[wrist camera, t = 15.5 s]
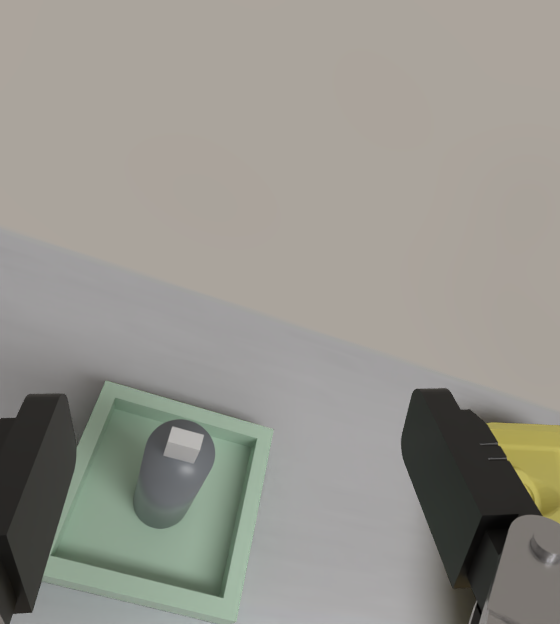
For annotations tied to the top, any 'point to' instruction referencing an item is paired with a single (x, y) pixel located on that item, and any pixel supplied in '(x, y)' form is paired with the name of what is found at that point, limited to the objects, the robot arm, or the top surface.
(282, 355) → the top surface
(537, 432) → the plastic component
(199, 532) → the tray
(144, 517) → the grey bottle white cap
